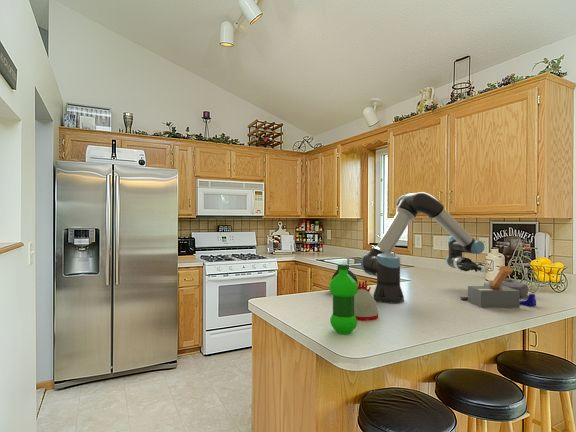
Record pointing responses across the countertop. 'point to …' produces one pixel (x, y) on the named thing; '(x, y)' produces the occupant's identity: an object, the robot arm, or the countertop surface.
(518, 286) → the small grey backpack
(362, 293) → the grey dome with crown
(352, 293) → the plastic bottle
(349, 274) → the squash
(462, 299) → the cord bundle
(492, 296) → the block
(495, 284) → the breaker lever
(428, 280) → the countertop surface
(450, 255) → the robot arm
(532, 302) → the cable clip
